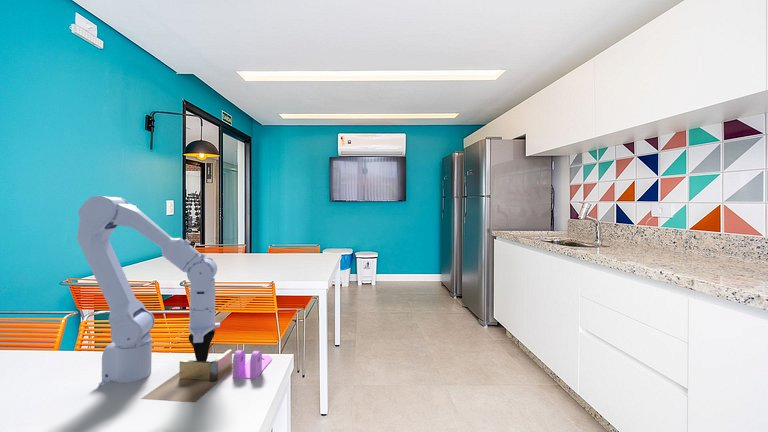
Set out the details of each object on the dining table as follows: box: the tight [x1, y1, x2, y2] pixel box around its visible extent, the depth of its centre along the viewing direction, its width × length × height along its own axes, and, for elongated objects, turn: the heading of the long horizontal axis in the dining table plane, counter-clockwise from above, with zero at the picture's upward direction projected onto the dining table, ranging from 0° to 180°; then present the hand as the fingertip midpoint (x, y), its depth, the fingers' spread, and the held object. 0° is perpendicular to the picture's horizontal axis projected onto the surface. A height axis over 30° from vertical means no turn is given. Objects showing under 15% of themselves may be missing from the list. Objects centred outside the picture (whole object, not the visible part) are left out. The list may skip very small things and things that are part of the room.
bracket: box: [232, 349, 273, 380], centre depth 93 cm, size 13×6×7 cm, turn 177°
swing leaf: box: [178, 359, 211, 380], centre depth 85 cm, size 1×7×4 cm, turn 86°
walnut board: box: [141, 362, 233, 403], centre depth 85 cm, size 12×19×1 cm, turn 175°
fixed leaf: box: [209, 349, 233, 382], centre depth 88 cm, size 2×9×4 cm, turn 175°
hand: (202, 361), depth 91 cm, fingers closed
